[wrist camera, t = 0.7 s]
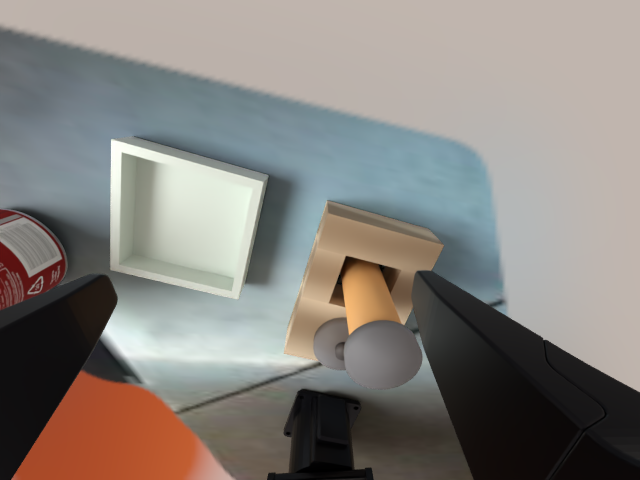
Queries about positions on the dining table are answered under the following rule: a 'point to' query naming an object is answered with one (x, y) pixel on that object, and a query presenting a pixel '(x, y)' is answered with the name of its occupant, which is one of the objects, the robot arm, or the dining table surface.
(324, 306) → the block
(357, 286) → the pin
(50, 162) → the dining table surface
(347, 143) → the dining table surface
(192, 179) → the tray
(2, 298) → the soda can
